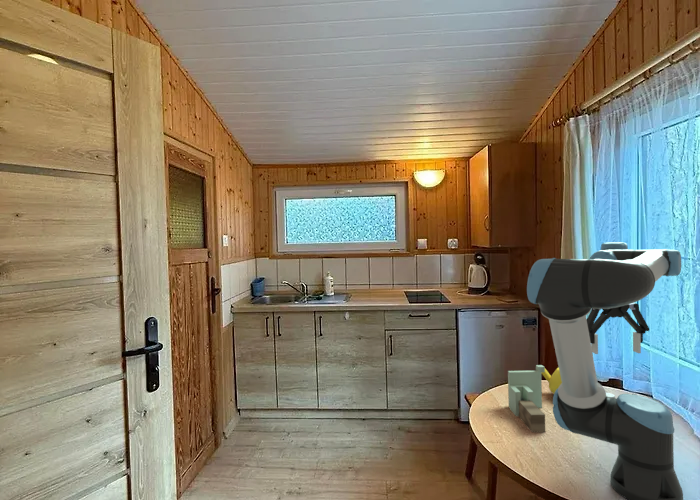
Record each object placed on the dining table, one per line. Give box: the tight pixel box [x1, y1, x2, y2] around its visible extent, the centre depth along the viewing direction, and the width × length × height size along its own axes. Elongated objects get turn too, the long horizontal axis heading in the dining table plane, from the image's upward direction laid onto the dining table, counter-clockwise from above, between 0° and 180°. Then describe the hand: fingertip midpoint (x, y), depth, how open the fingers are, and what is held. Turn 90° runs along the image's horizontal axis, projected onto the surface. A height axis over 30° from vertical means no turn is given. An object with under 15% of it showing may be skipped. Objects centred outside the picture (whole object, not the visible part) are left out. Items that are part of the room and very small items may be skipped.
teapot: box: [541, 366, 562, 395], centre depth 168 cm, size 20×16×14 cm
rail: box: [518, 399, 546, 433], centre depth 147 cm, size 16×4×6 cm, turn 177°
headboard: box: [507, 364, 546, 417], centre depth 156 cm, size 9×13×16 cm
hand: (615, 352), depth 137 cm, fingers open, 13 cm apart
